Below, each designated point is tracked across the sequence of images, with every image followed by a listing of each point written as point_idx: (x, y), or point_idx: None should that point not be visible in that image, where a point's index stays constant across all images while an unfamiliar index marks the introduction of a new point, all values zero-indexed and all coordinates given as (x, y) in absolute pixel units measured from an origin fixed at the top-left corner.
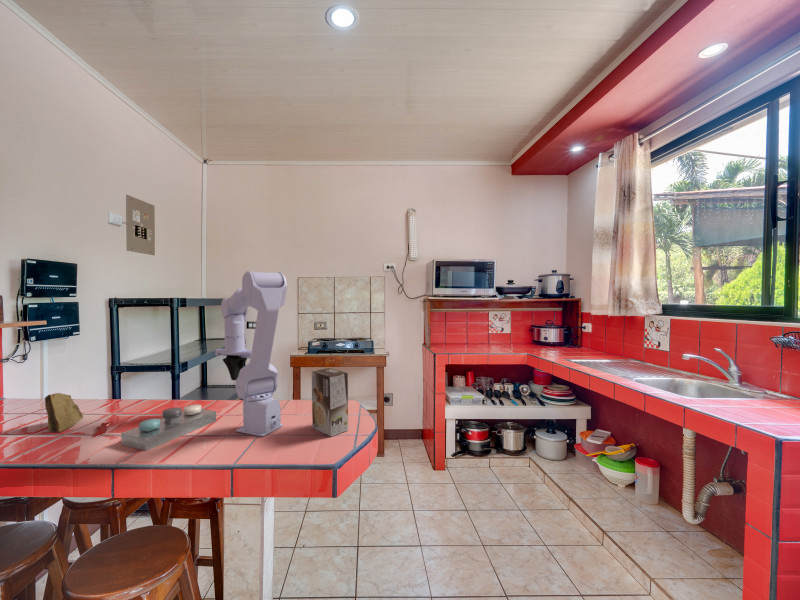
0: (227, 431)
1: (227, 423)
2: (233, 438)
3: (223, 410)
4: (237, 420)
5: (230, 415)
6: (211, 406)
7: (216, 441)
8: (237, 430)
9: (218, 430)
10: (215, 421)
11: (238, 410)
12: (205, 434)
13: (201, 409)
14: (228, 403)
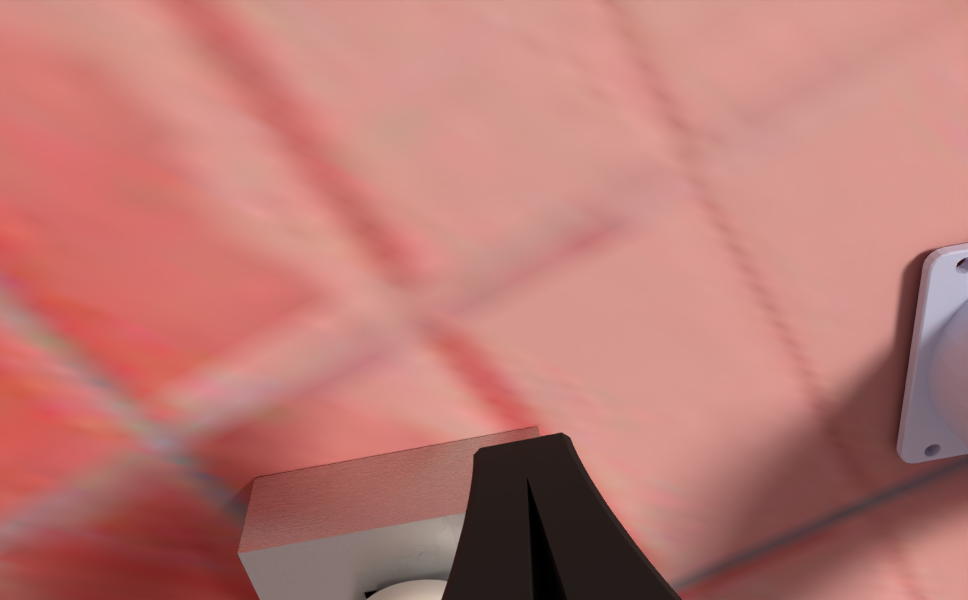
0: (817, 473)
1: (677, 400)
2: (955, 505)
3: (289, 242)
4: (704, 321)
5: (516, 285)
6: (8, 242)
7: (874, 572)
8: (923, 461)
9: (733, 496)
10: (538, 431)
11: (446, 149)
12: (705, 564)
13: (372, 541)
14: (39, 52)
